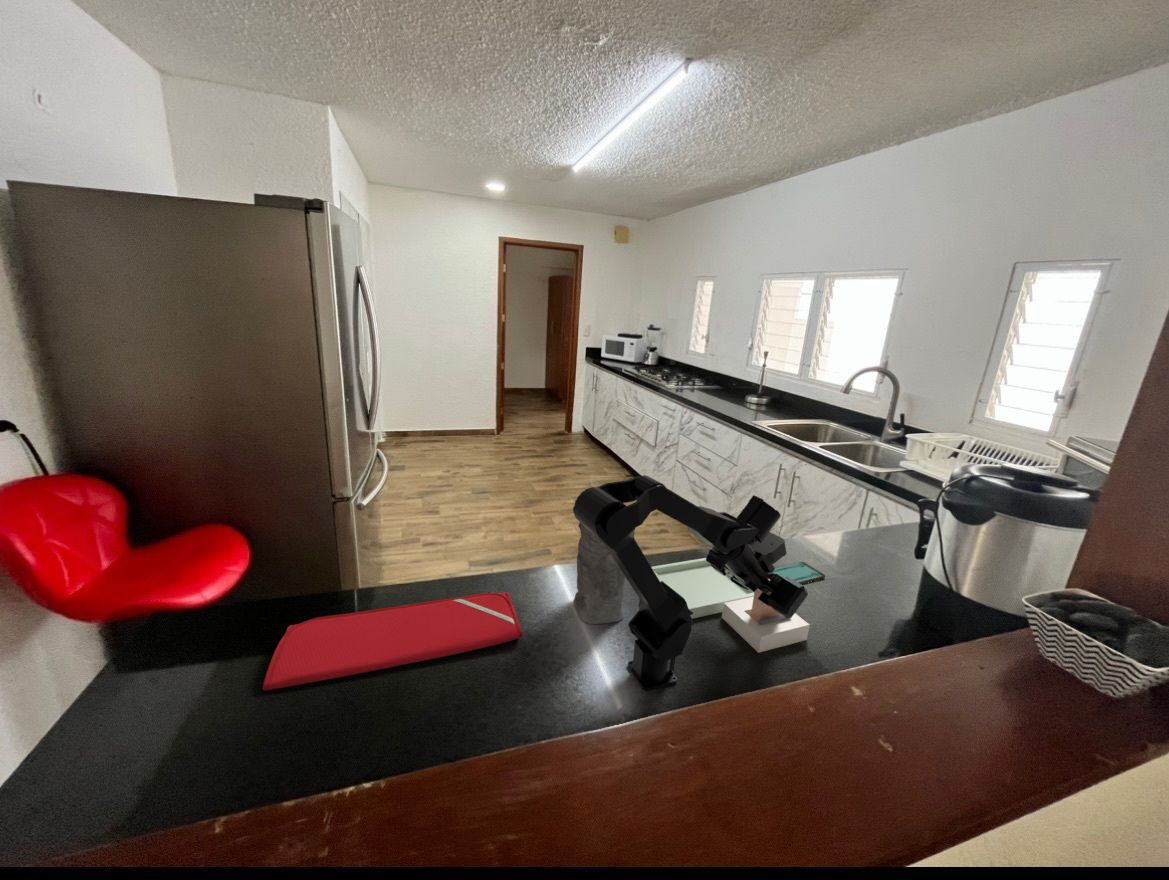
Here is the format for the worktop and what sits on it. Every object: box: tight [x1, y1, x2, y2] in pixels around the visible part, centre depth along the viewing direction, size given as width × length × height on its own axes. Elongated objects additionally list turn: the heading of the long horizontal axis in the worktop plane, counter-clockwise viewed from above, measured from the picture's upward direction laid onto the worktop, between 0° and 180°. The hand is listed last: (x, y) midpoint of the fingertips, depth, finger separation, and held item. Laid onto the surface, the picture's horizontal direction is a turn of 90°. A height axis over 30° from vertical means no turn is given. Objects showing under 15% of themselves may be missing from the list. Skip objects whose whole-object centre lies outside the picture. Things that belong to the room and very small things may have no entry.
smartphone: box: [768, 561, 826, 585], centre depth 114 cm, size 7×1×15 cm
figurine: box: [572, 522, 626, 625], centre depth 94 cm, size 10×14×25 cm
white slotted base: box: [721, 597, 811, 653], centre depth 93 cm, size 12×11×4 cm
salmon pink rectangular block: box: [751, 579, 780, 623], centre depth 92 cm, size 5×2×11 cm, turn 111°
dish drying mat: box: [262, 591, 523, 692], centre depth 85 cm, size 16×41×4 cm, turn 109°
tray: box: [651, 557, 754, 620], centre depth 106 cm, size 20×17×2 cm
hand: (771, 596), depth 92 cm, fingers closed on salmon pink rectangular block, 3 cm apart
